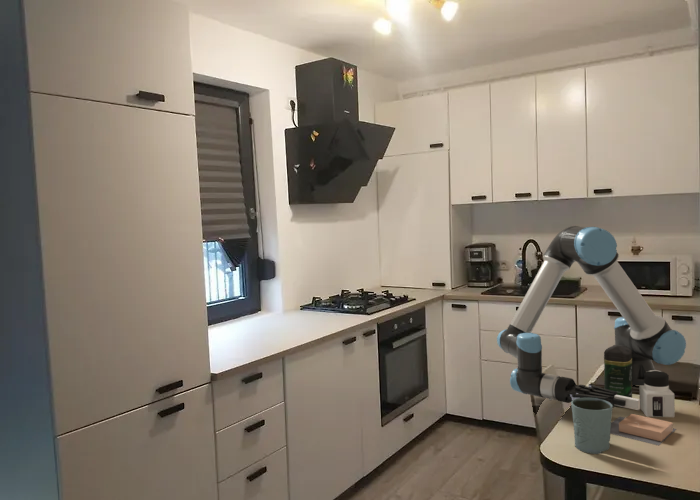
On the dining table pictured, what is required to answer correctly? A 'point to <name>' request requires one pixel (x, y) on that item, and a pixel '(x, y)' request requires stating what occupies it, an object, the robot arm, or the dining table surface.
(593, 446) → the teal planter pot
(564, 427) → the dining table surface
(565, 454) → the dining table surface
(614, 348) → the coffee jar
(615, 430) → the mat
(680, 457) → the dining table surface
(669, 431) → the salmon orange rectangular block
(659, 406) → the container
